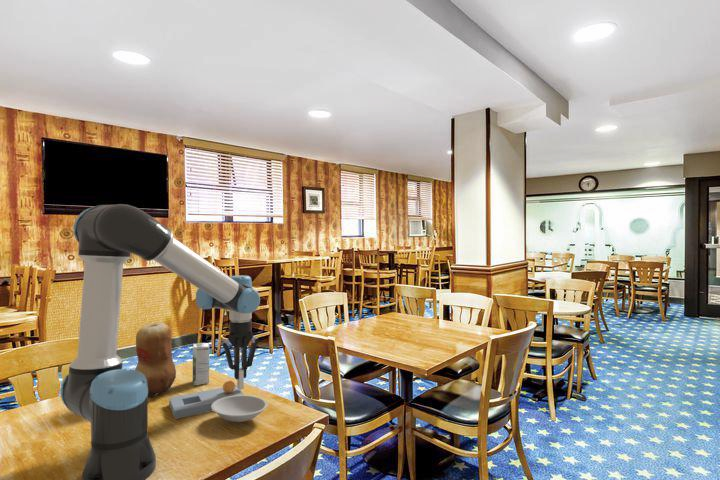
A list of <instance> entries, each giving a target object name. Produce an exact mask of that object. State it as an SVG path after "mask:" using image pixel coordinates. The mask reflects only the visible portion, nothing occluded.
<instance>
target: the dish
mask: <svg viewBox="0 0 720 480" xmlns="http://www.w3.org/2000/svg"><path fill="white" fill-rule="evenodd" d="M267 408H268V402H267V400H265V399H264V398H262V397H260V396H255V395H248V394H244V395H235V396H228V397H224V398H221V399H218V400H216V401H215V402H213V403H212V405H211V409H212V410H213V411H212V412H214V413H215V414H217V415H218V416H219V417H220V418H221V419H224V420H226V421H228V422H232V423H242V422H247V421H251V420H253V419H255V418H257V417H258V416H259V415H260V414H261V413H263V411H265V410H267Z"/></svg>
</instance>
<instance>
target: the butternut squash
mask: <svg viewBox="0 0 720 480" xmlns="http://www.w3.org/2000/svg"><path fill="white" fill-rule="evenodd" d="M172 344H173V340H172V330H171V327H170V326H169V325H168V324H167V323H164V322H154V323H150V324H146V325H144V326H141V328H140V329H138V330H137V332H136V337H135V351H136V355H137V365H136V366H135V369H134V370H136V371H139V372H141V373H142V374H144V375H145V377H146V379H147V386H148V396H157V395H158V394H160V393H165V392H166V391H168V390H169V389H170V388H172V385H173V383H174V382H175V379H176V378H177V377H176V376H177V370H176V367H175V366H176V365H175V363H174V360H173V353H172V352H173V348H172V346H173V345H172Z"/></svg>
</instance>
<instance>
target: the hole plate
mask: <svg viewBox="0 0 720 480" xmlns="http://www.w3.org/2000/svg"><path fill="white" fill-rule="evenodd" d="M235 395H245V394H244V393H243V391H242V389H239V388H238V387H237V384H235V389H234V391H233V392H231V393H226V392H224V390H223V386H221V387H217V388H211V389H208V390H203V391H202V390H201V391H196V392H192V393H186V394H182V395H176V396H169V399H168V402H169V404H168V406H169V408H170V410H171V411H170V412H171V413H172V416H173V419H174V420H177V419H182V418H188V417H189V416H190V417H191V416H196V415H200V413H201V414H205V413H208V412H207V411H210V412H212V411H211V410H212V409H211V405H212V403H213V402H215V401H216V400H218V399H221V398H224V397H228V396H235ZM204 412H205V413H204Z"/></svg>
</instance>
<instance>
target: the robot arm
mask: <svg viewBox="0 0 720 480" xmlns="http://www.w3.org/2000/svg"><path fill="white" fill-rule="evenodd" d="M72 229H73V235H74V239H75V240H76V241H77V242H78V254H77V255H78V256H77V257H79V258H80V259H81V260H82V261H83V263H84V270H83V282H82V283H83V284H82V295H81V306H80V309H81V310H80V318H79V319H80V322H79V331H78V345H77V346H78V347H77V356H76V358H74V359H73V360H72V361H71V362H70V363H69V365H68V366H69V368H68V374H67V375H66V376H65V377H64V378H63V379H62V382H61V386H60V390H59V397H60V399H61V401H62V404H64V406H65V407H66V408H67V410H69V411H70V412H72V413H74V414H75V415H78V416H80V417H81V418H82V419H84V420H86V421H87V422H89V423H90V442H91V443H90V450H89V453H88V456H87V459H86V461H85V465H84V468H83V470H82V477H81V479H82V480H146V479H147V478H149V477H150V475H152V473H153V472H154V471H155V469H156V465H157V462H156V461H157V460H156V458H157V457H156V453H155V450H154V448H153V446H152V442H151V440H150V438H149V435H148V431H149V430H148V427H149V425H148V423H149V422H148V420H149V419H148V418H149V417H148V414H149V413H148V410H149V409H148V406H149V405H148V404H149V403H148V399H149V397H148V396H149V395H148V386H147V379H146V377H145V375H144V374H142V373H141V372H139V371H136V370H135V369H126V368H123V358H122V357H121V356H119V355H118V354H117V351H118V340H119V338H118V337H119V326H120V325H119V324H120V310H121V300H122V299H121V298H122V297H121V296H122V286H123V272H124V271H123V270H124V265H125V263H126V262H127V261H128V260H130V259H131V254H132V255H136V256H138V257H140V258H142V259H143V260H144V261H147V262H151V261H154V262H155V263H157V264H159V265H161V266H162V267H164V268H165V269H167V270H168V271H170V272H172V273H173V274H175V275H177V276H178V277H180V278H181V279H183V280H185V281H186V282H188V283H190V284H191V285H192V286H194V287H196V288H197V290H196V292H195V301H196V304H197V307H198V308H200V310H211V309H220V310H226V311H229V315H228V316H229V317H228V319H229V320H230V321H229V322H228V330H229V331H228V332H229V333H228V335H227V338H226V340H224V341H221V342H220V345H221V346H222V347H223V349H224V353H225V356H226V360H227V364H228V368H229V369H230V370H231V371H232V370H234V374H233V376H234V379H235V380H236V381H237V383H236V385H237V387H238V388H239V389H240V390H243V389H244V387H245V385H244V384H245V383H244V382H245V381H244V379H245V378H247V370H248V368H249V367H252V366H253V362H254V358H255V354H256V349H257V346H258V344H259V342H260V339H259V338H258V337H256V336H254V334H253V332H252V325H253V321H252V318H253V316H252V315H253V313H254V312H255V311H256V310H257V309H258V308H259V306H260V302H261V298H260V297H261V295H260V293H259V292H258V291H257V290H256V289H253V286H252V285H253V284H252V282H253V281H252V277H251V276H249V275H231V276H229V275H227V273H225V272H223V271H221V270H220V269H219V268H217V266H215V265H214V264H212V263H210V262H209V261H208V260H206V259H205V258H204V257H202V256H201V255H199V254H198V253H196V252H195V251H193V250H192V249H191V248H189V246H187V245H185V244H184V243H182V242H181V241H180V240H178V239H176V238H175V237H174V236H173V234H174V233H173V231H172V230H171V229H170V228H169V227H167V226H165V225H164V224H162V223H161V222H160V221H158V220H157V219H156V218H154V217H153V216H152V215H150V214H148V213H146V211H144V210H142V209H140V208H138V207H136V206H133V205H130V204H122V203H118V204H99V205H96V206H91V207H89V208H87V209H84V210H83V211H82V212H80V214H78V216H77V217H76V218H75V220H74V223H73V227H72ZM250 342H251V343H250ZM230 344H231V345H232V346H233V357H232V354H231V349H230V347H229V346H230ZM249 344H250V348H249V351H248V345H249ZM240 350H241V361H240ZM240 362H241V365H240ZM240 366H241V367H240Z"/></svg>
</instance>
